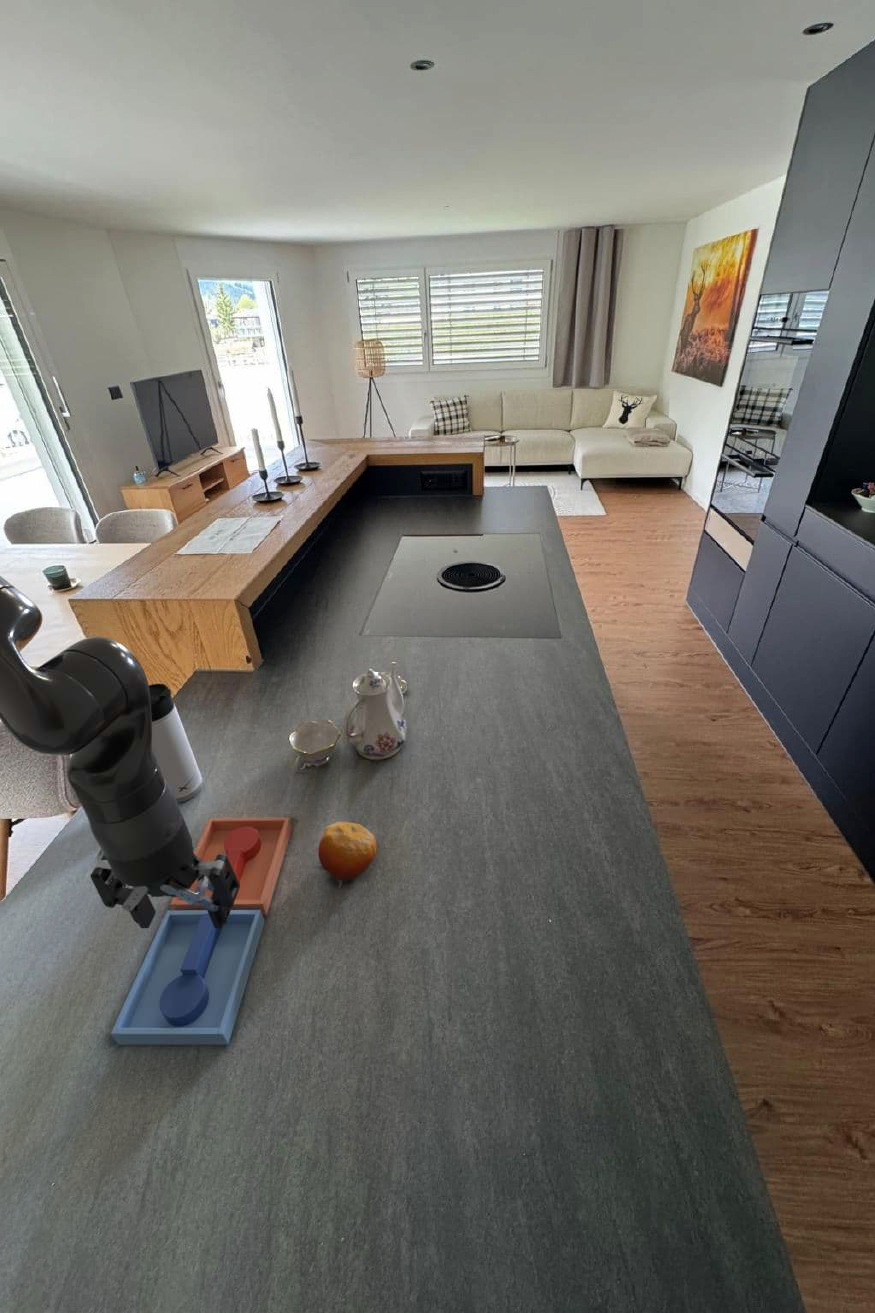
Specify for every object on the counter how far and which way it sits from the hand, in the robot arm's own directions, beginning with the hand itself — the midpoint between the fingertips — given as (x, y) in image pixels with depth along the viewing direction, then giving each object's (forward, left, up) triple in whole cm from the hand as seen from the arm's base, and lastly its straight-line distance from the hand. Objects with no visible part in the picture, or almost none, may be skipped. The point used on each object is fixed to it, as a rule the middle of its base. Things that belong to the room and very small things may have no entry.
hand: (185, 921), depth 64 cm
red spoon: (0, +12, -7) cm, 14 cm away
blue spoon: (0, -2, -7) cm, 8 cm away
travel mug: (-14, +28, -8) cm, 32 cm away
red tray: (0, +13, -8) cm, 15 cm away
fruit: (+16, +13, -8) cm, 22 cm away
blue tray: (0, -2, -8) cm, 8 cm away
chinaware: (+15, +40, -8) cm, 44 cm away
